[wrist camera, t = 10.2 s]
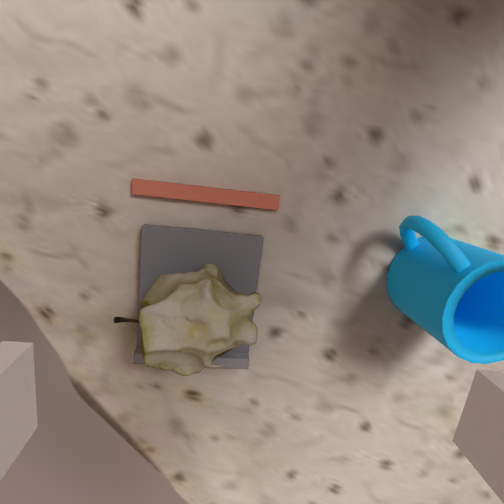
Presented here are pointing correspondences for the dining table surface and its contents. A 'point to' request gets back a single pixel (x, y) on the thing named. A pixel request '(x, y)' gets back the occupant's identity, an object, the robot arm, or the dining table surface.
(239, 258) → the mat
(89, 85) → the dining table surface
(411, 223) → the mug
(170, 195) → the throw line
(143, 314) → the fruit
